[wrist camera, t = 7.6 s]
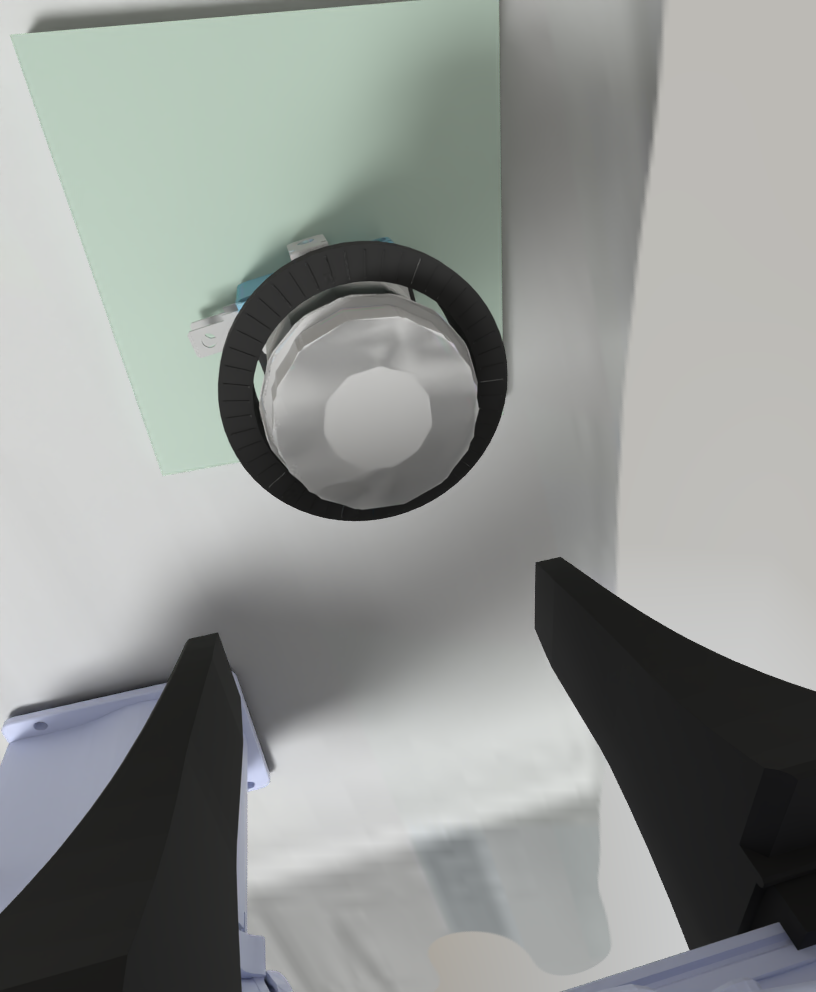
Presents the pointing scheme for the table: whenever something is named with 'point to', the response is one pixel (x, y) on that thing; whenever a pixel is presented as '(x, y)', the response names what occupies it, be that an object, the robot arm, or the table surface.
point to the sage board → (264, 168)
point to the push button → (357, 378)
